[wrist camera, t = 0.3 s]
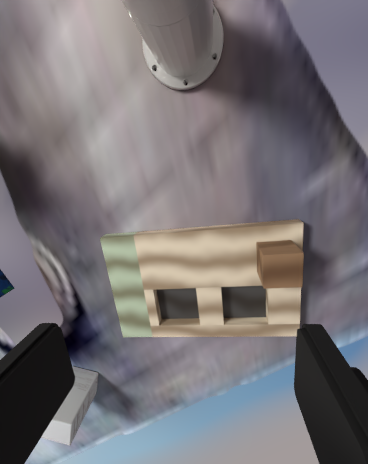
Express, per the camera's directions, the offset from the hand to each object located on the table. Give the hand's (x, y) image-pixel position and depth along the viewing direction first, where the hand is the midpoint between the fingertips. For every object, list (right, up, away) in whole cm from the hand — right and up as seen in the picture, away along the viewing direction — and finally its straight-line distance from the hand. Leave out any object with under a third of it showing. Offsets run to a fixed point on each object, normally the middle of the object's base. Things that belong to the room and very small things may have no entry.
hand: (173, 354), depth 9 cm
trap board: (+4, -6, +39) cm, 40 cm away
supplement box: (-26, -35, +52) cm, 68 cm away
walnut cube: (+17, 0, +33) cm, 37 cm away
